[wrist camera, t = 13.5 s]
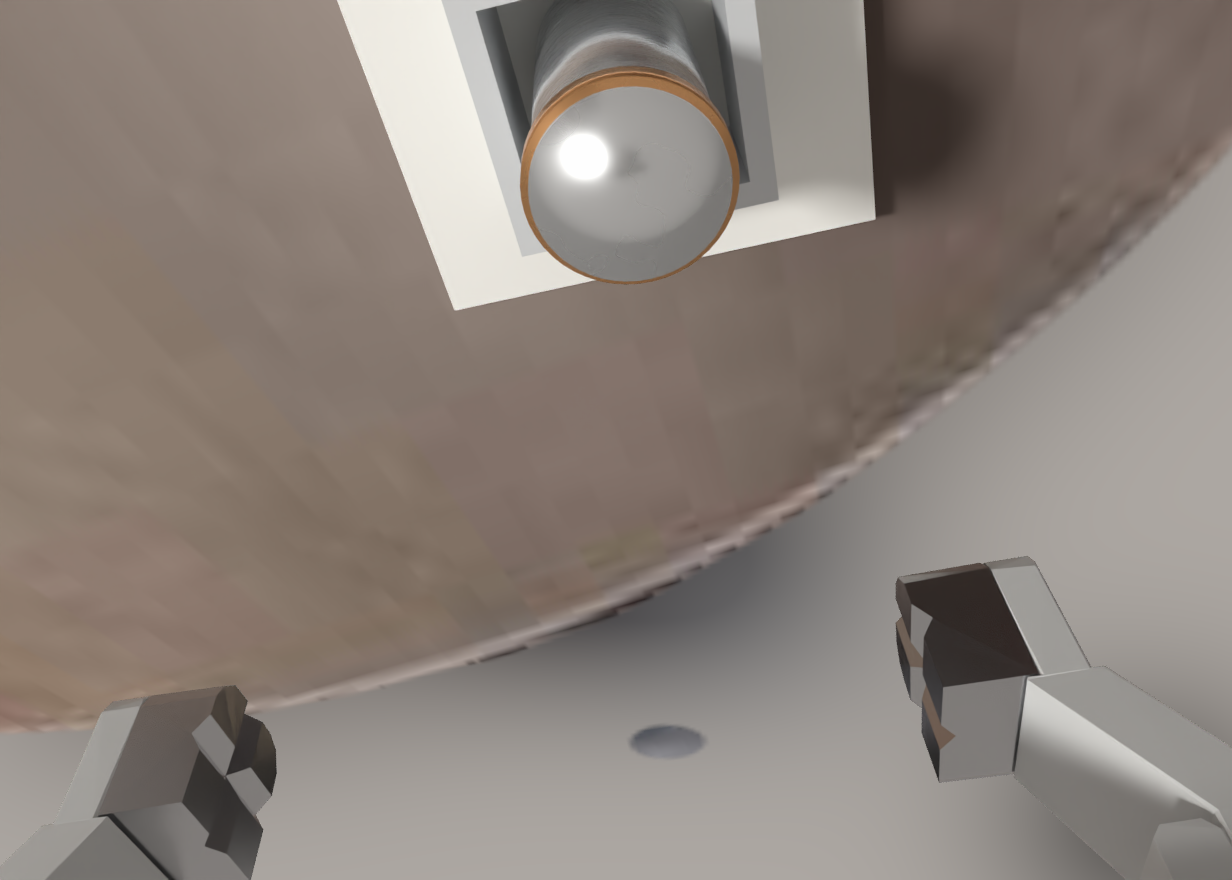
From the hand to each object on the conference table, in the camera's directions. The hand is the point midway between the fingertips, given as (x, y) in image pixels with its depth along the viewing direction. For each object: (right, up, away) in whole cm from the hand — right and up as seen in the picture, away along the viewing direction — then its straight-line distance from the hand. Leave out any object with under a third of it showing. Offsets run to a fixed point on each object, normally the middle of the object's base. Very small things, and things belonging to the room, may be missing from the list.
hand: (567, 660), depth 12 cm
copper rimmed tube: (+1, +15, +20) cm, 25 cm away
